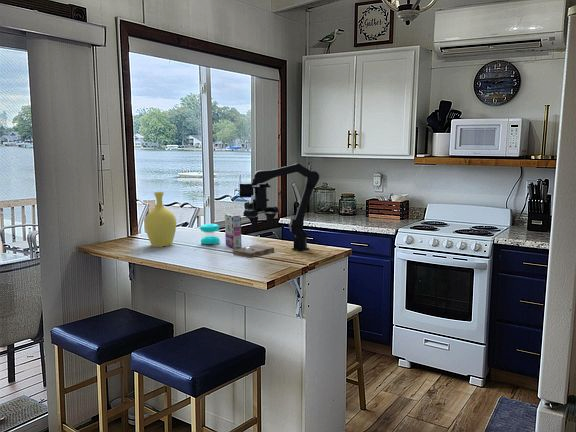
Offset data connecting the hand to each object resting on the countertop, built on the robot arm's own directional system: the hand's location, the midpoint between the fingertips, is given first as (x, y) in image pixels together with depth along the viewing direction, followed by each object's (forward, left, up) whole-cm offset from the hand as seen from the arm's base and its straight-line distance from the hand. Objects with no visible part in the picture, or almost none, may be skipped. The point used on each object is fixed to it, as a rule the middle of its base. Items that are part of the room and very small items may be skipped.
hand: (262, 229), depth 241 cm
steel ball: (+9, -1, -9) cm, 13 cm away
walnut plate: (+5, -1, -11) cm, 12 cm away
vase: (+20, -55, -11) cm, 59 cm away
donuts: (+2, -37, -11) cm, 38 cm away
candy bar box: (0, -21, -11) cm, 23 cm away
